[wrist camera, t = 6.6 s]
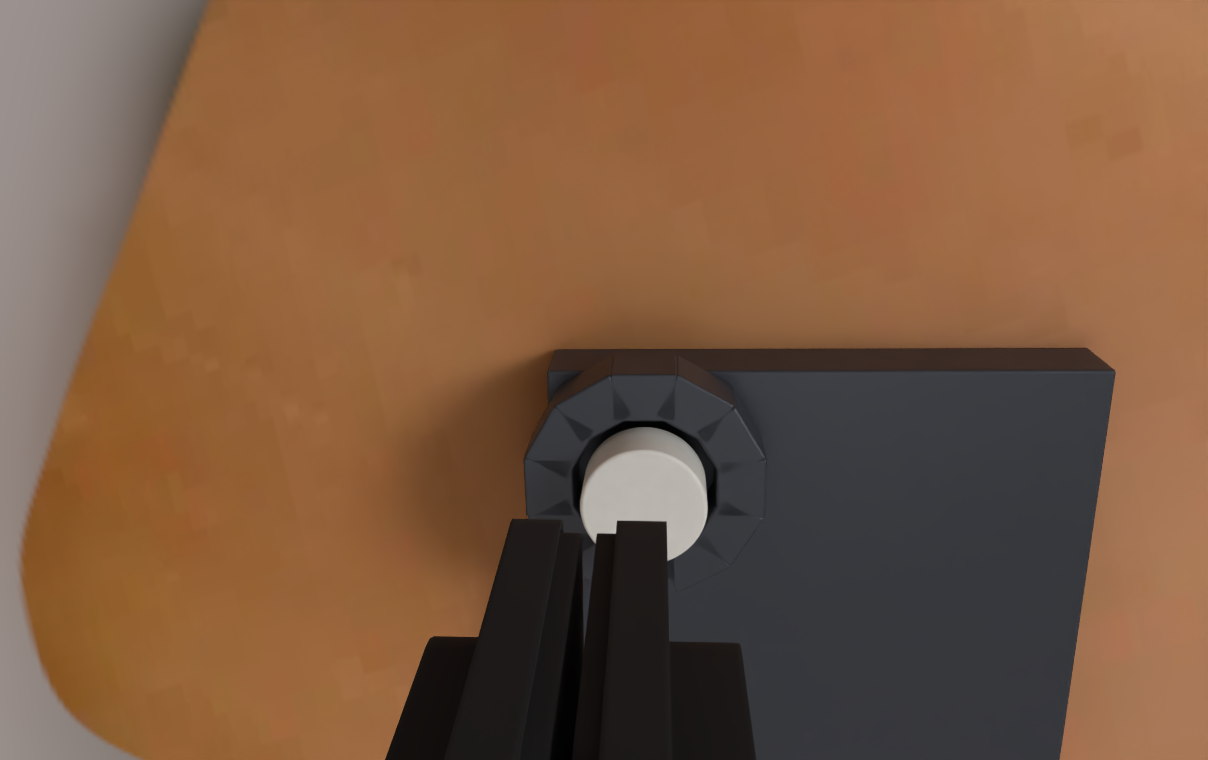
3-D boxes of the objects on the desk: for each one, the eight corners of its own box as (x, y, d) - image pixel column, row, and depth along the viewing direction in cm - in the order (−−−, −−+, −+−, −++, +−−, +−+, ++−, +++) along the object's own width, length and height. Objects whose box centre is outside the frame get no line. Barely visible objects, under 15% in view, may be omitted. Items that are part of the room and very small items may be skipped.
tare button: (586, 535, 27) (581, 565, 25) (583, 425, 26) (577, 450, 24) (705, 536, 26) (707, 567, 25) (706, 425, 25) (708, 450, 24)
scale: (556, 775, 33) (543, 859, 30) (536, 332, 28) (519, 374, 25) (1029, 786, 32) (1070, 875, 29) (1090, 330, 27) (1147, 373, 24)
